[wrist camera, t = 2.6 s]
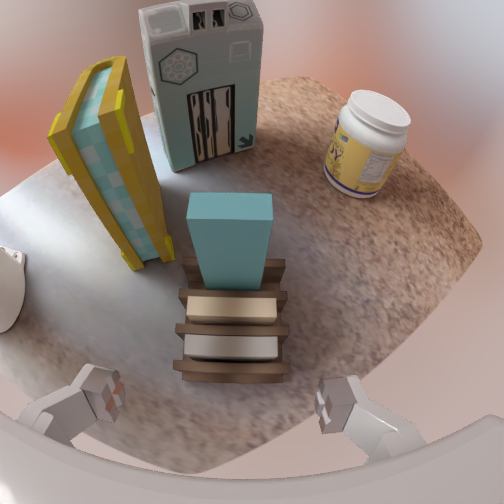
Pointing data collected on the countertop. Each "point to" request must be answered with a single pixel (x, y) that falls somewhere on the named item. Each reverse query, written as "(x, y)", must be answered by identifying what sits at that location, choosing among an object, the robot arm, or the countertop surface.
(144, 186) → the book
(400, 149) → the supplement tub
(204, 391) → the countertop surface
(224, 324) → the block
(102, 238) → the countertop surface
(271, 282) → the rack
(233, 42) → the device
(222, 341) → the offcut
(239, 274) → the tall sheet
